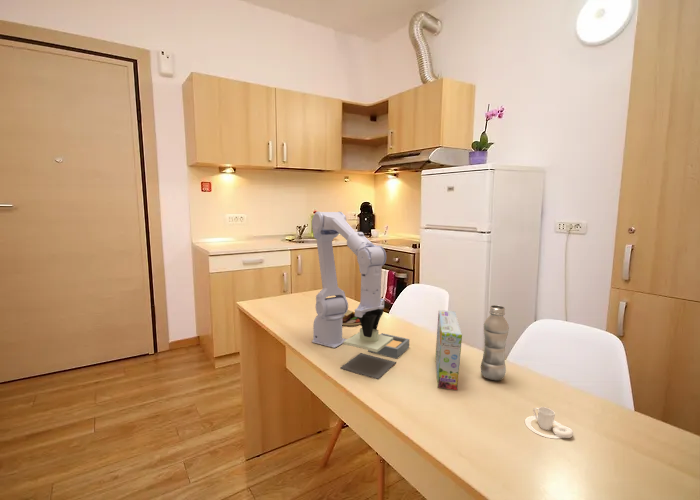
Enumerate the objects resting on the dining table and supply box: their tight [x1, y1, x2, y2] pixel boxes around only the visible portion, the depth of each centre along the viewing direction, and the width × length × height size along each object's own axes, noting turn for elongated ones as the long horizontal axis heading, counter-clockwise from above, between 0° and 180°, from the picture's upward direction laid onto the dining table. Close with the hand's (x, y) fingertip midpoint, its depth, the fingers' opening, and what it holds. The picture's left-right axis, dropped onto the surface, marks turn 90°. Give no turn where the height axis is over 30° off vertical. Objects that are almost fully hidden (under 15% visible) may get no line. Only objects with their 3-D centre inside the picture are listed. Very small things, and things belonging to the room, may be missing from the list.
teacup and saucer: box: [524, 406, 574, 440], centre depth 76 cm, size 9×8×4 cm
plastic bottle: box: [480, 304, 510, 382], centre depth 97 cm, size 6×7×20 cm
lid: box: [343, 327, 393, 352], centre depth 103 cm, size 11×11×4 cm
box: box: [367, 333, 410, 360], centre depth 116 cm, size 10×10×3 cm
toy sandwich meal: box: [342, 309, 361, 327], centre depth 143 cm, size 12×14×5 cm
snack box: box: [435, 309, 463, 391], centre depth 101 cm, size 21×6×15 cm, turn 168°
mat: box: [340, 352, 397, 380], centre depth 104 cm, size 12×12×1 cm
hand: (369, 335), depth 103 cm, fingers closed on lid, 2 cm apart
